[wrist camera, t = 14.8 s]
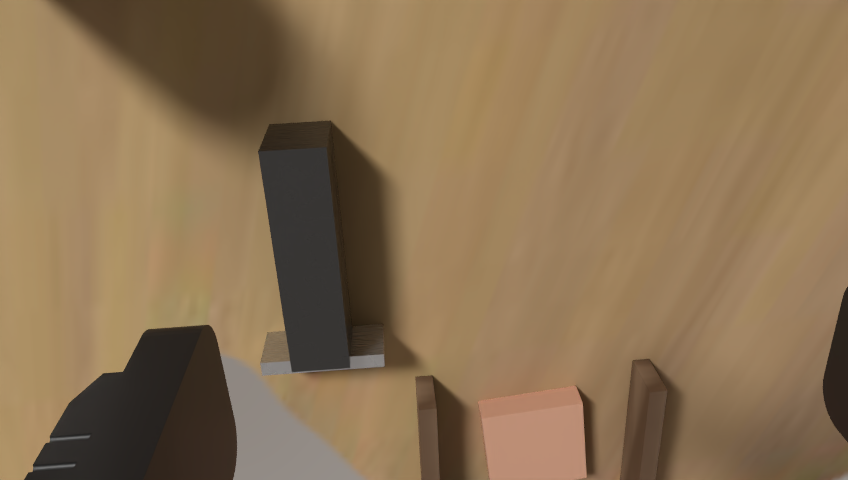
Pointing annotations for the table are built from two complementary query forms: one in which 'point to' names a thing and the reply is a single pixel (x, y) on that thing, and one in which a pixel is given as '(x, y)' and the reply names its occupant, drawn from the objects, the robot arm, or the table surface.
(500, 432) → the tile
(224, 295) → the table surface
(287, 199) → the long dark grey beam
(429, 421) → the bay
